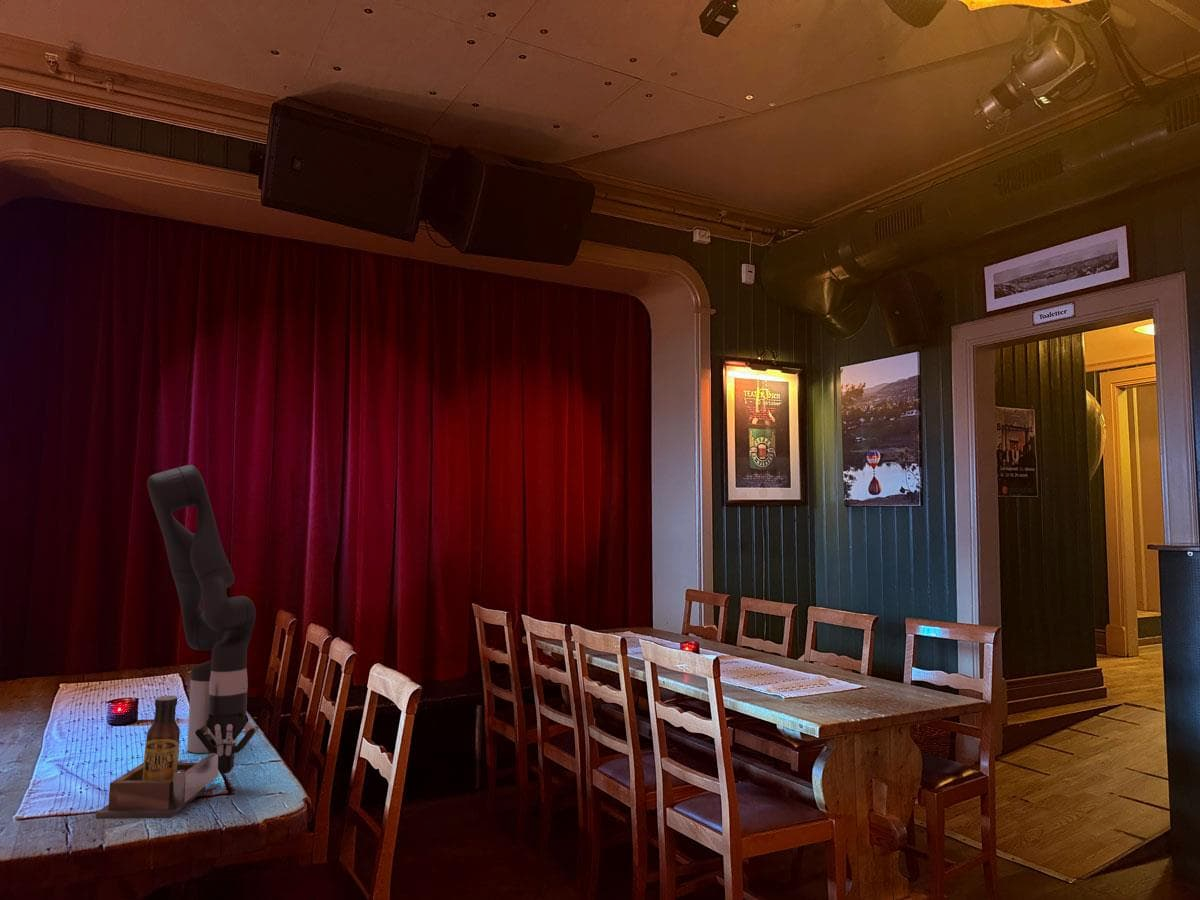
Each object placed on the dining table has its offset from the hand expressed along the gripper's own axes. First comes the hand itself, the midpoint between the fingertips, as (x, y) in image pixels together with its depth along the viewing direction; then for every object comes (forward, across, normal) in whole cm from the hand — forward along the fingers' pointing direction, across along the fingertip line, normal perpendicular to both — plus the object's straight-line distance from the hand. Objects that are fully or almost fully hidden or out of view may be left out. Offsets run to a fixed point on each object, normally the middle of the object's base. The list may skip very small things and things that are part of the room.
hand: (225, 772), depth 176 cm
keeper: (+2, -3, -7) cm, 8 cm away
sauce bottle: (+2, -10, -9) cm, 13 cm away
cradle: (+3, -10, -9) cm, 14 cm away
